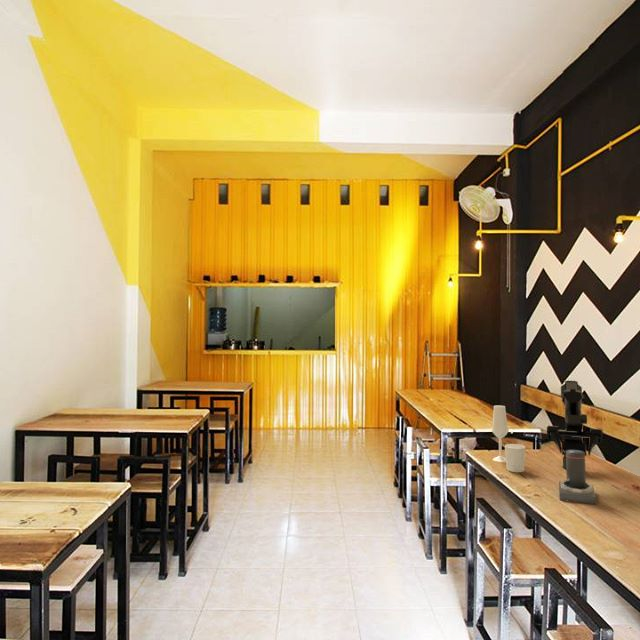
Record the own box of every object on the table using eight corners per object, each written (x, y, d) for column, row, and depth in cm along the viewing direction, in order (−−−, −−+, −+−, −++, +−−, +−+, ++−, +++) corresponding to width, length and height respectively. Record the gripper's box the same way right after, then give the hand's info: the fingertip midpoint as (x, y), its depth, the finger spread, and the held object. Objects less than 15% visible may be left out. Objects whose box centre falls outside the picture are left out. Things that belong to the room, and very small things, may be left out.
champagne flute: (506, 462, 216) (505, 408, 217) (490, 460, 220) (489, 406, 220) (510, 459, 222) (509, 405, 222) (494, 457, 226) (493, 404, 226)
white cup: (528, 472, 202) (528, 448, 202) (509, 473, 202) (508, 448, 202) (521, 467, 210) (520, 443, 210) (502, 467, 210) (502, 443, 210)
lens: (575, 485, 179) (574, 448, 179) (590, 490, 173) (588, 452, 174) (563, 487, 177) (561, 450, 177) (577, 492, 171) (576, 454, 171)
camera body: (559, 488, 183) (558, 477, 183) (592, 492, 178) (592, 481, 178) (559, 500, 171) (559, 488, 171) (595, 504, 167) (595, 492, 167)
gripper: (546, 404, 191) (546, 439, 181) (601, 407, 183) (605, 444, 173) (547, 421, 198) (547, 455, 188) (600, 424, 190) (603, 460, 180)
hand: (574, 453), depth 182 cm, fingers open, 9 cm apart
